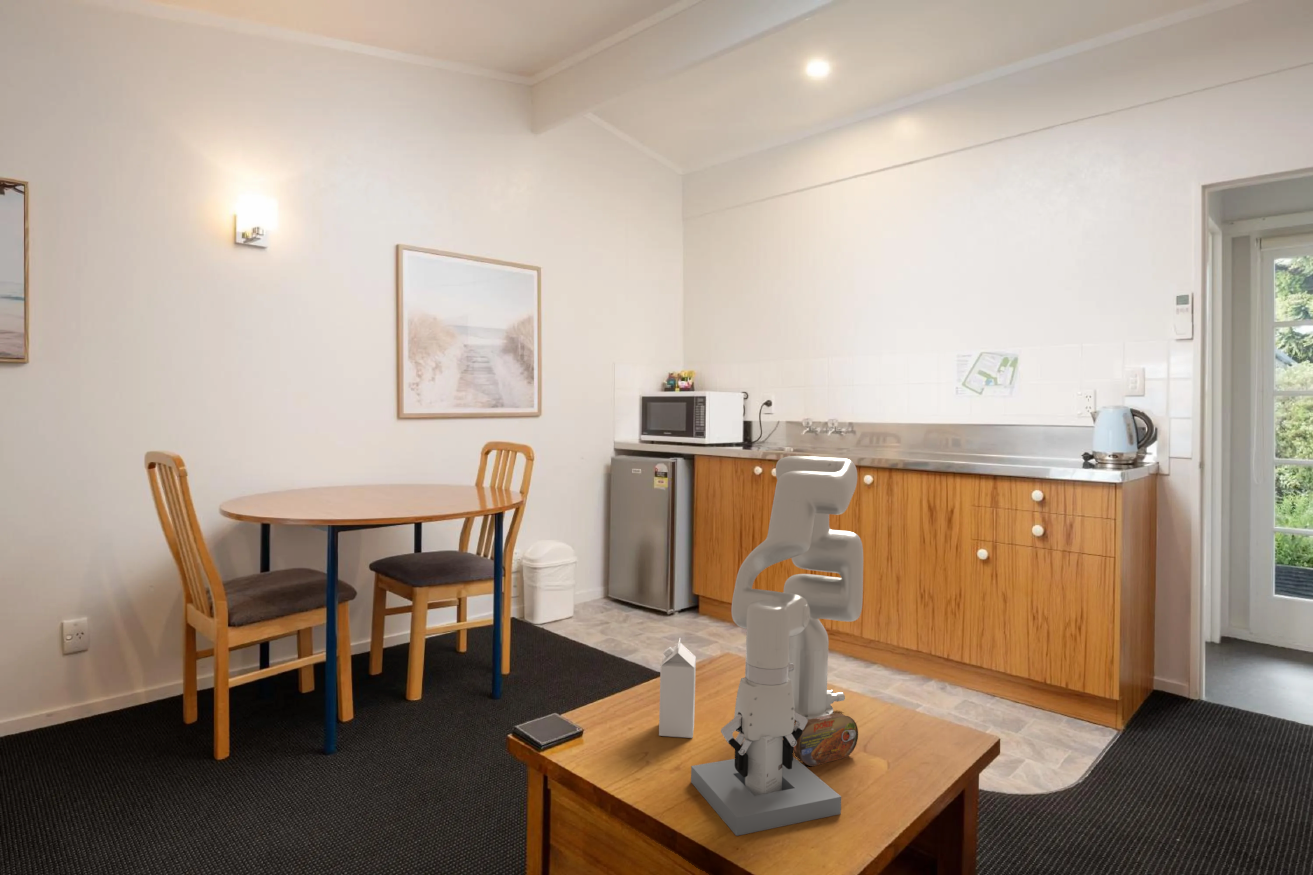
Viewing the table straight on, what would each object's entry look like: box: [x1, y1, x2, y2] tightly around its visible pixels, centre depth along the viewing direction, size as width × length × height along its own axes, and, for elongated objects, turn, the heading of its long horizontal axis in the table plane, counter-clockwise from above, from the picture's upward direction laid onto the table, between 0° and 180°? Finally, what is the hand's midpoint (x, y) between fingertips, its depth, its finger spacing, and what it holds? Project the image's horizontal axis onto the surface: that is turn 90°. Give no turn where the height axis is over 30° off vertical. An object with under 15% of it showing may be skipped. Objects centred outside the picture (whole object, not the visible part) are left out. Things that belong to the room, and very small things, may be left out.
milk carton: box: [658, 637, 697, 739], centre depth 155 cm, size 7×7×19 cm
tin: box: [793, 712, 859, 767], centre depth 144 cm, size 15×3×8 cm, turn 117°
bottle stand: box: [690, 756, 842, 837], centre depth 128 cm, size 20×18×3 cm
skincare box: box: [745, 736, 783, 796], centre depth 128 cm, size 6×4×12 cm
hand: (763, 769), depth 128 cm, fingers open, 8 cm apart
